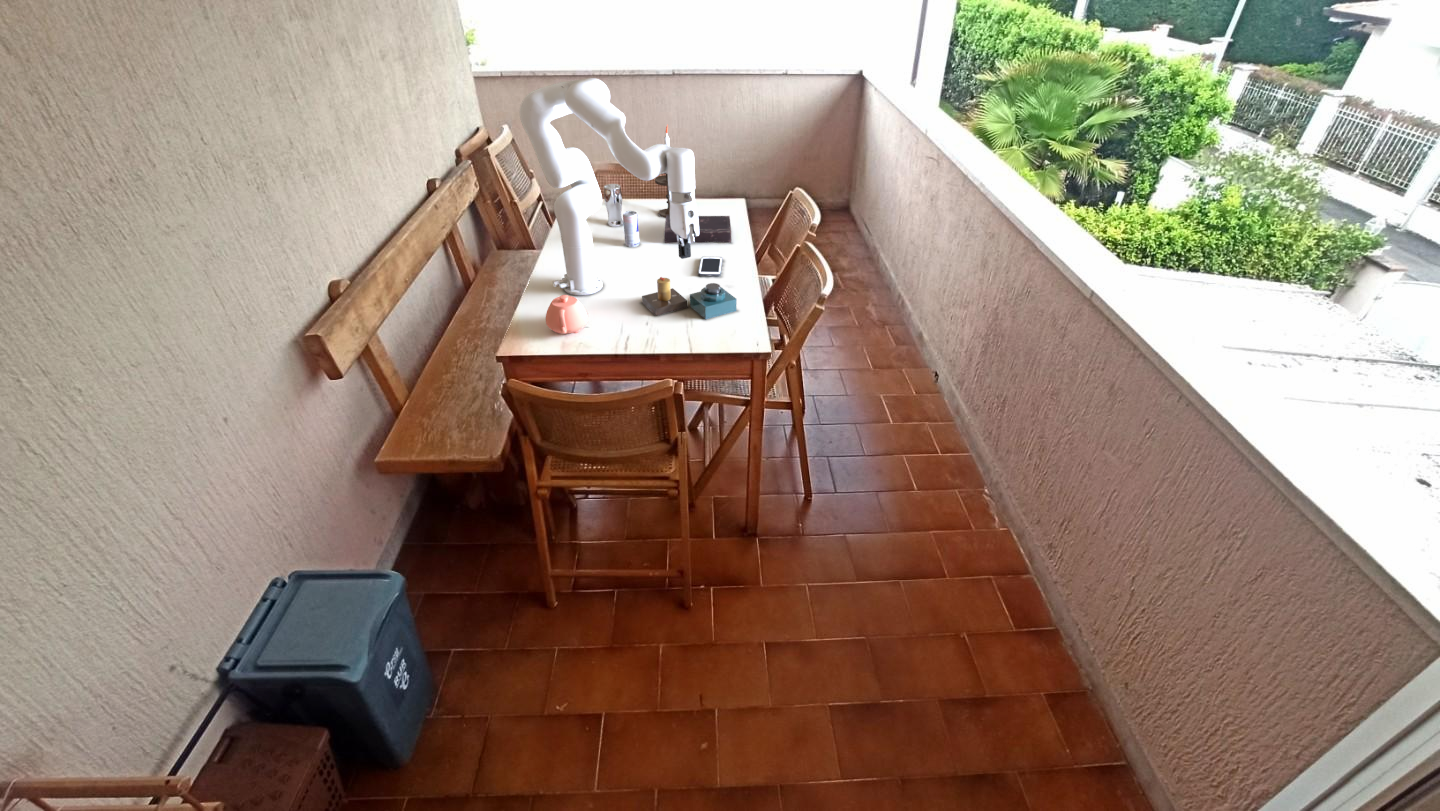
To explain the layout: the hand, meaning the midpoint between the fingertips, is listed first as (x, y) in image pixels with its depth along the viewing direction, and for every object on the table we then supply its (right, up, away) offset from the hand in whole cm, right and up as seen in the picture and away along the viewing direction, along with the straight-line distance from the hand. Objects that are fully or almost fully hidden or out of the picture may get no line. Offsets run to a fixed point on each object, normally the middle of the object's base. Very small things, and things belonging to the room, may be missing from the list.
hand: (684, 256), depth 191 cm
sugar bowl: (-35, -22, -2) cm, 41 cm away
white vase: (-32, +29, +67) cm, 80 cm away
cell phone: (+7, +4, +33) cm, 34 cm away
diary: (+2, +22, +58) cm, 62 cm away
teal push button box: (+8, -14, +9) cm, 19 cm away
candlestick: (-10, +35, +76) cm, 85 cm away
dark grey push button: (+8, -10, +6) cm, 14 cm away
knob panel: (-7, -13, +11) cm, 18 cm away
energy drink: (-22, +16, +50) cm, 57 cm away
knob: (-7, -11, +9) cm, 16 cm away
